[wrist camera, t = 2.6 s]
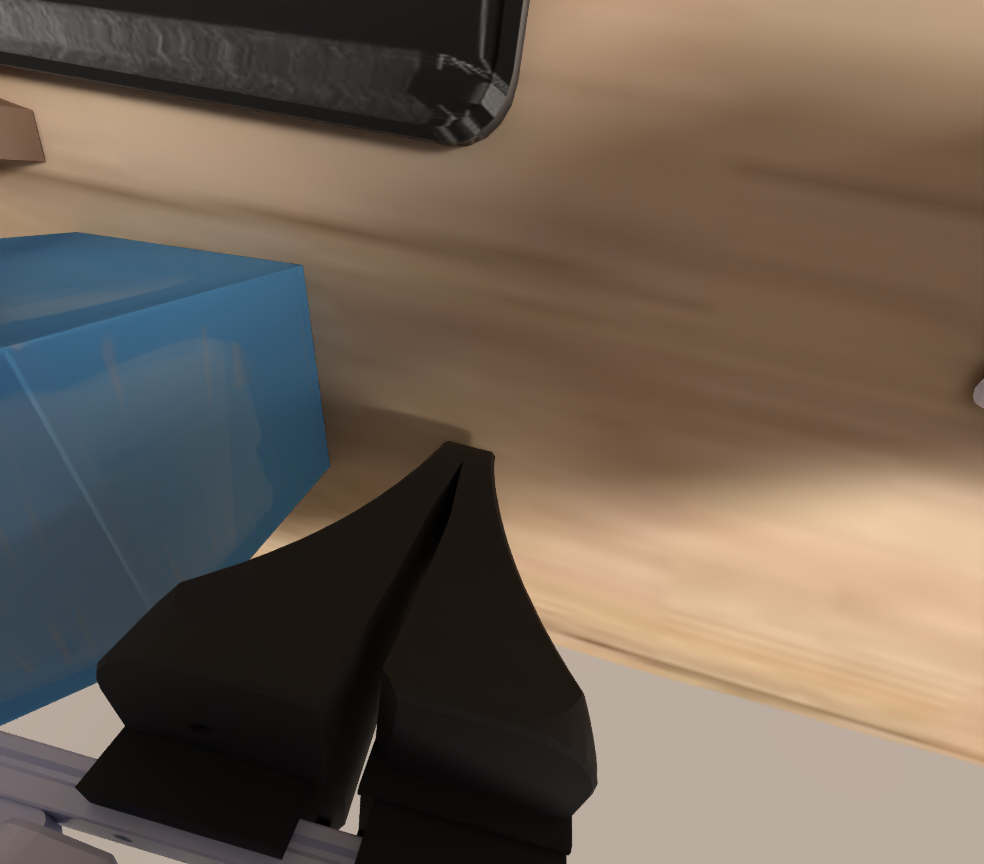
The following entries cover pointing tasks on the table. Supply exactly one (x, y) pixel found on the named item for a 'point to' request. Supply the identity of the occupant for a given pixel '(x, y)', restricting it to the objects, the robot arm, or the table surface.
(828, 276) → the table surface
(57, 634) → the perfume bottle
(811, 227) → the table surface
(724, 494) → the table surface
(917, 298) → the table surface
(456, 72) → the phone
